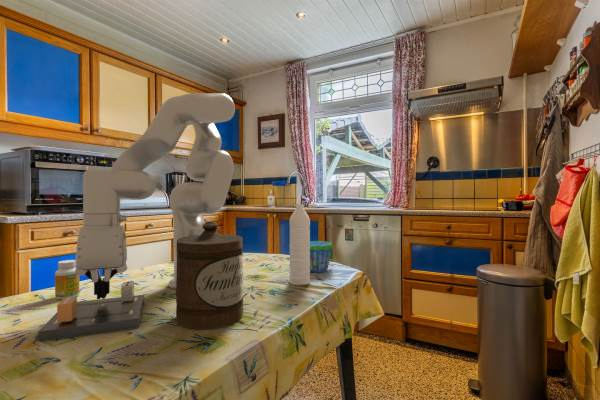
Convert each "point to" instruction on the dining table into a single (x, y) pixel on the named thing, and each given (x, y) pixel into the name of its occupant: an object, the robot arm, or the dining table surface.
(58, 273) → the supplement bottle
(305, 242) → the water bottle
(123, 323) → the console
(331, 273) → the dining table surface
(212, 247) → the wooden container
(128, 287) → the block
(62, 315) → the orange fader
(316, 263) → the snack cup
